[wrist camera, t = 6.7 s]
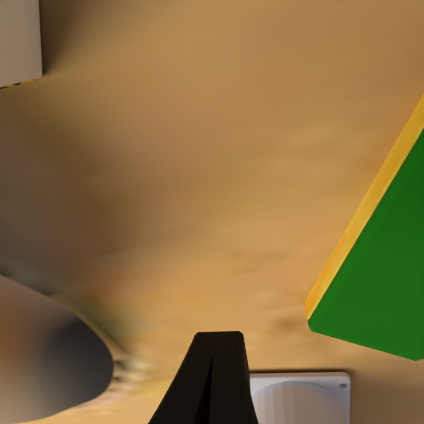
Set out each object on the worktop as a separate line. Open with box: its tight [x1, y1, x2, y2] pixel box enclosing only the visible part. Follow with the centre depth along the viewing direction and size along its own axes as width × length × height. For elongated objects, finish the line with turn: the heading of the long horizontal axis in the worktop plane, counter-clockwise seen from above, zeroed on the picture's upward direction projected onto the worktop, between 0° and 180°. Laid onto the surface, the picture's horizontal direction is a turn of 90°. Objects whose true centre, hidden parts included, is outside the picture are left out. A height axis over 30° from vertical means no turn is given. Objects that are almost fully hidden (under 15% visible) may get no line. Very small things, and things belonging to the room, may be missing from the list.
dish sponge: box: [304, 94, 424, 361], centre depth 17 cm, size 7×14×2 cm, turn 165°
